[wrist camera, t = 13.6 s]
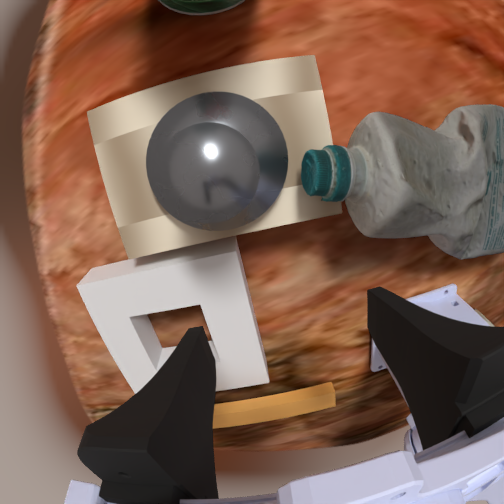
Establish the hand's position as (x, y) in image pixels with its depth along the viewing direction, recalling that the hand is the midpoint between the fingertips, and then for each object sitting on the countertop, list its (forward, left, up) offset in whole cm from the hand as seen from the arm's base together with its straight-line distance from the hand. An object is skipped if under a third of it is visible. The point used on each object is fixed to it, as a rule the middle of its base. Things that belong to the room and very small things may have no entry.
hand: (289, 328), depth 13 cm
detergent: (-15, -3, -10) cm, 18 cm away
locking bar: (+5, +13, -6) cm, 15 cm away
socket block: (+8, +5, -10) cm, 14 cm away
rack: (+2, -7, -10) cm, 13 cm away
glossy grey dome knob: (+2, -7, -10) cm, 12 cm away
